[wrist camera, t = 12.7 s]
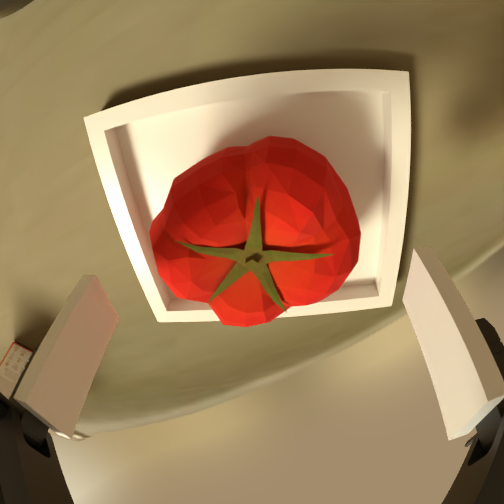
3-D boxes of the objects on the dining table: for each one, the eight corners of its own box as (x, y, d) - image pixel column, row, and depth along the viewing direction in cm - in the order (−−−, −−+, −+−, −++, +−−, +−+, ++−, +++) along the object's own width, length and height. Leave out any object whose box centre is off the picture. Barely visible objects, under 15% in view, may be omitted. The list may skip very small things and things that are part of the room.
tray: (99, 112, 16) (83, 117, 14) (394, 70, 14) (408, 71, 12) (164, 305, 25) (158, 322, 23) (384, 288, 23) (391, 305, 21)
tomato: (365, 229, 19) (395, 295, 14) (229, 293, 23) (217, 363, 17) (293, 96, 15) (307, 109, 9) (145, 191, 19) (99, 246, 13)
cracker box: (61, 396, 41) (26, 491, 24) (35, 383, 40) (-3, 473, 23) (42, 354, 33) (-11, 473, 16) (13, 339, 33) (-43, 448, 15)
